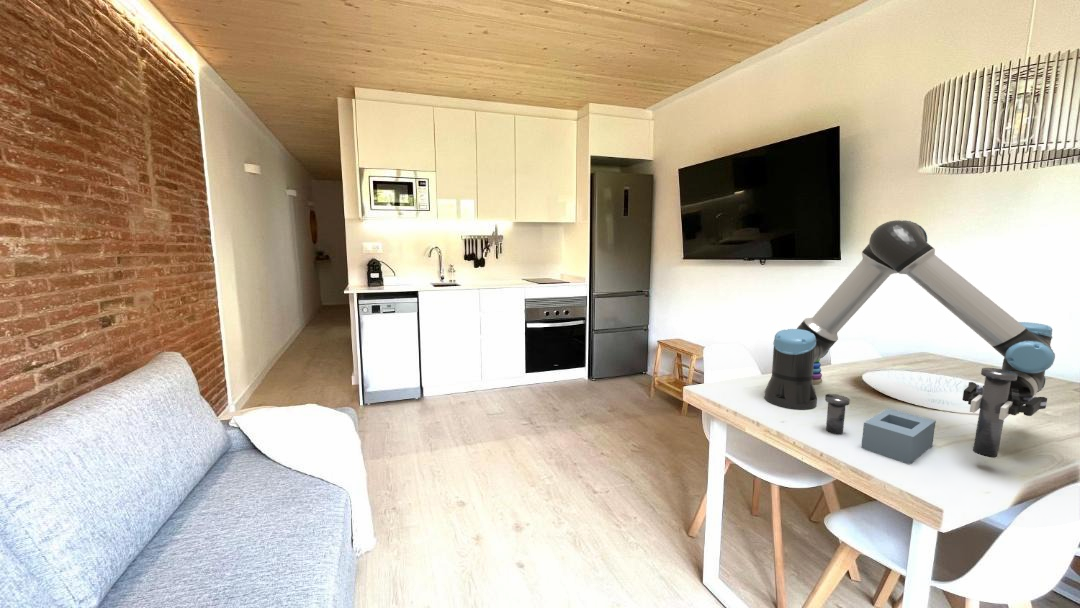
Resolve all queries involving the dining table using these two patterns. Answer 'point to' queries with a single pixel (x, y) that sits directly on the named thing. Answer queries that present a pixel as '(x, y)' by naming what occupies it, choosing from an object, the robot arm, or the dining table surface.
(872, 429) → the guide block
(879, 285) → the robot arm
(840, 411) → the short pin
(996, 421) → the tall pin
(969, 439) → the dining table surface
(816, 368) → the stacking toy
